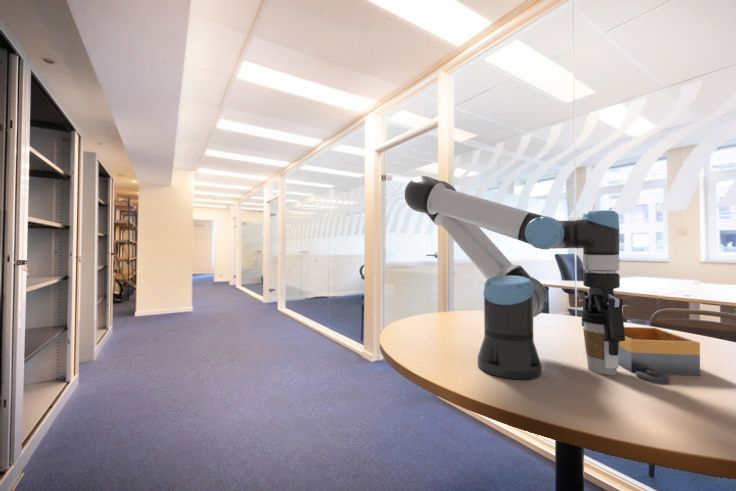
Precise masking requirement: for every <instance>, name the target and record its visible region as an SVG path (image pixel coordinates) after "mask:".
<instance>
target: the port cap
mask: <svg viewBox="0 0 736 491" xmlns="http://www.w3.org/2000/svg"><path fill="white" fill-rule="evenodd" d="M635 376H636V377H637V379H640V380H642V381H643V382H644V381H645V382H649V383H653V384H658V385H659V384H660V385H669V384H671V380H670V376H668V375H667V374H661V373H658V371H656V370H652V369H647V371H646V370H639V371H636V373H635Z"/></svg>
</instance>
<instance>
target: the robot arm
mask: <svg viewBox="0 0 736 491" xmlns="http://www.w3.org/2000/svg"><path fill="white" fill-rule="evenodd" d="M404 199H405V202H406V204H407V206H408V207H409V208H410V209H411V210H412V211H414V212H417V213H418V212H419V213H423V214H426V215H427V216H428V218H429V219H430V220H431V221H432V223H434V225H436V226H442V227H443V228H444V229H445V231H446V232H447V233H448V234H449V236H450V237H451V238H452V239H453V240H454V242H455V243H456V245H458V247H459V248H460V249H461V250H462V251H463V253H465V255H466V256H467V257H468V258H469V260H470V261H471V262H472V264H473V265H474V266H475V267H476V268H477V269H478V270H479V272H480V273H481V274H482V275H483V276H484V277H485V279H486V280H485V282H484V289H483V309H484V310H483V311H484V312H483V314H484V320H483V324H484V328H483V329H484V336H483V340H482V342H481V345H480V349H479V351H478V354H477V367H478V368H479V369H480V370H481V371H483V372H485V373H487V374H489V375H493V376H495V377H499V378H503V379H509V380H532V379H536V378H539V377H540V376H541V375H542V368H543V367H542V361H541V359H540V356H539V354H538V351H537V348H536V344H535V341H534V318H535V317H537V316H539V314H541V313H542V312H543V311H544V310H545V308H546V305H547V303H548V293H547V289H546V288H545V285H543V284H542V282H541V281H539V280H538V279H536V278H535V277H532V276H531V275H530V274H529V273H528V272H527V271H526V270H525V268H523V267H522V265H520V264H513V263H512V262H511V261H510V260H509V258H508V257H506V255H504V253H503V252H502V251H501V250H500V249H499V247H498V246H496V244H495V243H494V242H493V241H492V240H491V238H490V237H489V236H488V235H487V234H486V233H485V232H484V231H483V230H484V229H485V230H488V231H491V232H494V233H496V234H499V235H502V236H506V237H509V238H511V239H515V240H518V241H519V242H523V243H525V244H528V245H531V246H532V247H533V248H535V249H539V250H550V249H551V250H552V249H554V250H555V249H582V269H583V270H584V272H583V276H582V277H583V279H582V281H583V287H585V288H586V287H587V288H589V290H588V291H585V290H583V291H582V298H583V299H582V312H581V314H582V315H583V311H586V310H590V313H591V314H592V313H601V315H604V321H605V325H604V330H605V335H606V338H605V339H603V340H604V367H605V368H617V370H618V369H619V365H618V342H620V341H625V332H624V327H625V323H624V313H623V306H624V300H623V298H622V297H621V298H620V297H619V298H618V297H616V296H615V293H614V289H619V288H620V287H621V284H620V283H621V282H620V280H621V277H620V274H619V273H618V272H619V271H620V262H621V259H620V220H619V214H618V212H616V211H614V210H609V209H608V210H605V209H604V210H593V211H592V210H590V211H585V212H584V213H583V215H582V217H581V219H575V220H558V219H556V218H553V217H550V216H547V215H545V216H544V215H542V214H538V213H534V212H530V211H527V210H524V209H520V208H517V207H514V206H510V205H505V204H503V203H499V202H495V201H492V200H488V199H484V198H481V197H479V196H474V195H471V194H467V193H464V192H461V191H458V190H456V188H455V187H454V186H453V185H451V184H450V183H448V182H446V181H444V180H443V181H442V180H438V179H436V178H432V177H429V176H426V175H420V176H416V177H414V178H413V179H411V180H410V181H408V183H407V184H406V187H405V189H404ZM481 228H482V229H483V230H482V229H481ZM581 326H582V327H583V328H584V322H583V321H582V320H581ZM619 335H620V336H619Z"/></svg>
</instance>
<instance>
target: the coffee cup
mask: <svg viewBox="0 0 736 491" xmlns="http://www.w3.org/2000/svg"><path fill="white" fill-rule="evenodd" d="M582 313H583V315H582V316H581V322H582V321H583V322H584V327H583V328H582V329H583V337H584V346H585V354H586V361H587V362H586V363H587V369H588V370H589V371H591V372H594V373H596V374H600V375H608V376H609V375H610V376H611V375H612V376H613V375H616V374H617V370H618V369H617V368H605V367H604V340H603V339H605V338H606V335H605V330H604V325H605V321H604V315H601V313H592V314H591V313H590V310H586V311H583V310H582ZM619 336H620V335H619ZM618 351H619V342H618Z"/></svg>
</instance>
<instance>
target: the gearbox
mask: <svg viewBox="0 0 736 491" xmlns="http://www.w3.org/2000/svg"><path fill="white" fill-rule="evenodd" d="M624 332H625V341H620V342H619V351H618V366H620V367H621V368H623V369H625V370H627V372H628V371H629V372H630V373H635V374H636V371H639V370H646V371H647V369H652V370H656V371H658V373H661V374H664V375H675V376H677V375H678V376H697V377H700V376H701V349H700V348H701V343H700V342H699V341H695V340H693V339H689V338H687V337H684V336H681V335H678V334H676V333H673V332H669V331H666V330H663V329H660V328H658V327H644V326H643V327H641V326H624Z"/></svg>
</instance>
